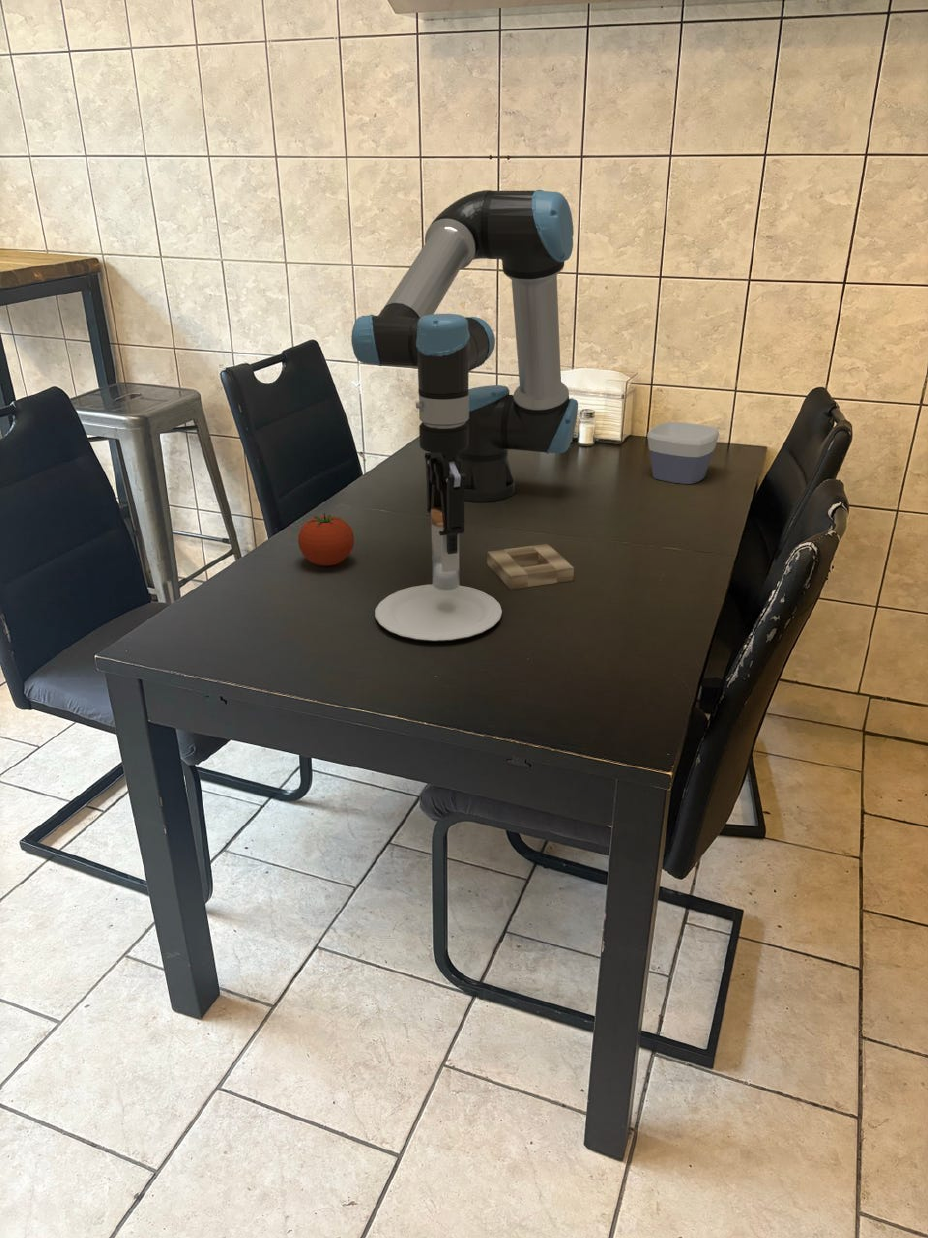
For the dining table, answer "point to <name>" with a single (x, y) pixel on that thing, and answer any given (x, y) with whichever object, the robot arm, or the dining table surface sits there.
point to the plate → (438, 613)
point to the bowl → (681, 451)
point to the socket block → (543, 572)
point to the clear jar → (440, 555)
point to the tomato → (326, 540)
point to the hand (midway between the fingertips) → (445, 564)
